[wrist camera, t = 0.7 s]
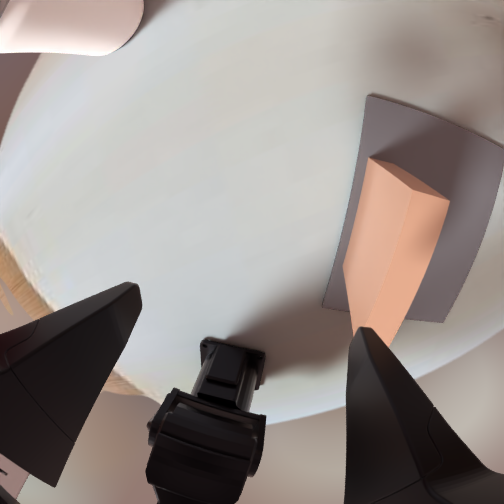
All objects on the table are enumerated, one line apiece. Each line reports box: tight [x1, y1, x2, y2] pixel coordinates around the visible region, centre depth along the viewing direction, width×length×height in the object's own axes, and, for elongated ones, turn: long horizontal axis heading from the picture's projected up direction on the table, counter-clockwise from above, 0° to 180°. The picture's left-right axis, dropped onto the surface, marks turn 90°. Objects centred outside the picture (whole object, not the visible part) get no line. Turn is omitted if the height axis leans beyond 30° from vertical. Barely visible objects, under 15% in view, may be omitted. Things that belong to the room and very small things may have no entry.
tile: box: [342, 157, 450, 347], centre depth 14 cm, size 8×2×8 cm, turn 175°
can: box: [0, 0, 144, 56], centre depth 8 cm, size 6×6×12 cm
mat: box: [322, 96, 504, 323], centre depth 17 cm, size 16×12×1 cm
